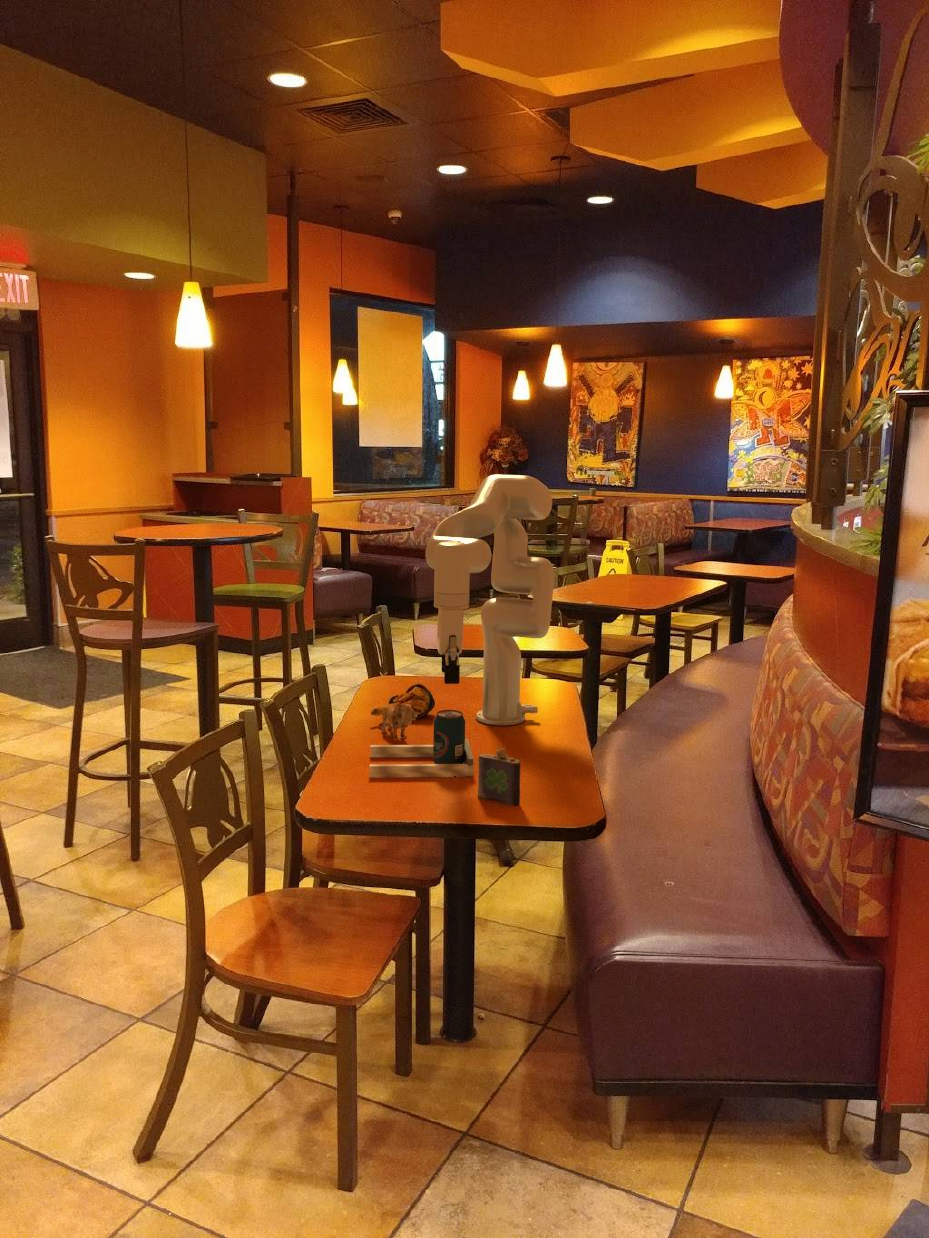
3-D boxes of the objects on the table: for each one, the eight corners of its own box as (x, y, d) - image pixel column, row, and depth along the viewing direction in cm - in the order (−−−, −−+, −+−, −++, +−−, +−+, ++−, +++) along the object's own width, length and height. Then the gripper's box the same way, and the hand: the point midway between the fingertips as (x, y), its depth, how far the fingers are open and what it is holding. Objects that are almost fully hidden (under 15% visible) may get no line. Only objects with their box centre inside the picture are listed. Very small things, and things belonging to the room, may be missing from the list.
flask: (475, 798, 196) (476, 746, 194) (482, 793, 198) (484, 743, 196) (516, 807, 191) (518, 755, 189) (522, 803, 194) (524, 751, 192)
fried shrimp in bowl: (448, 698, 252) (405, 689, 238) (427, 734, 254) (383, 727, 240) (427, 679, 258) (383, 669, 243) (406, 714, 259) (361, 706, 245)
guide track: (467, 755, 222) (467, 738, 221) (472, 776, 208) (473, 758, 207) (370, 755, 220) (370, 738, 219) (369, 777, 206) (369, 759, 205)
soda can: (426, 764, 215) (427, 712, 213) (450, 758, 219) (451, 707, 217) (446, 773, 210) (447, 719, 208) (470, 766, 214) (472, 714, 212)
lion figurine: (420, 741, 232) (420, 704, 230) (401, 744, 229) (402, 707, 227) (387, 726, 243) (387, 691, 242) (368, 729, 240) (369, 694, 238)
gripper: (432, 593, 216) (431, 668, 219) (436, 607, 199) (435, 688, 202) (465, 593, 217) (464, 668, 220) (472, 607, 200) (470, 688, 203)
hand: (450, 677), depth 211 cm, fingers open, 9 cm apart
